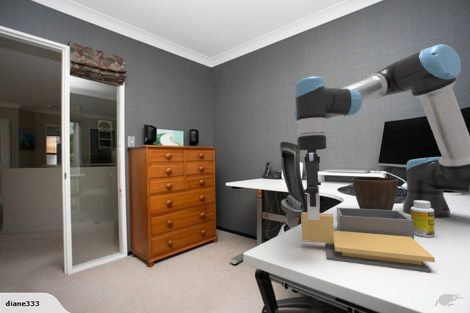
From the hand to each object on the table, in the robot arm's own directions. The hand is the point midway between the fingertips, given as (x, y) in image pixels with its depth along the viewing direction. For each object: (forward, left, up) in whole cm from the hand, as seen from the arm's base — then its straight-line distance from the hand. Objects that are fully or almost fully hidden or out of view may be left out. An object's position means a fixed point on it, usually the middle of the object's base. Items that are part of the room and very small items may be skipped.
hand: (314, 212), depth 61 cm
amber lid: (-10, 0, -9) cm, 13 cm away
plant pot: (-21, -33, -10) cm, 40 cm away
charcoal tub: (-16, -14, -9) cm, 23 cm away
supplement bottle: (-31, -20, -10) cm, 38 cm away
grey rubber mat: (-13, 0, -9) cm, 16 cm away
